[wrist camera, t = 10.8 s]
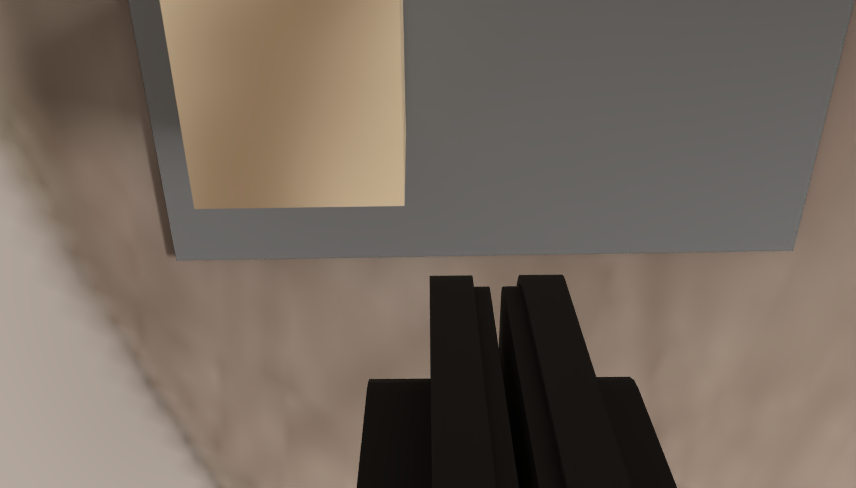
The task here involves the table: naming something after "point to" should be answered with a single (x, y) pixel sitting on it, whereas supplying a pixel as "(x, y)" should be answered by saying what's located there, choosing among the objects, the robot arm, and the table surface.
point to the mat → (560, 133)
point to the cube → (290, 101)
